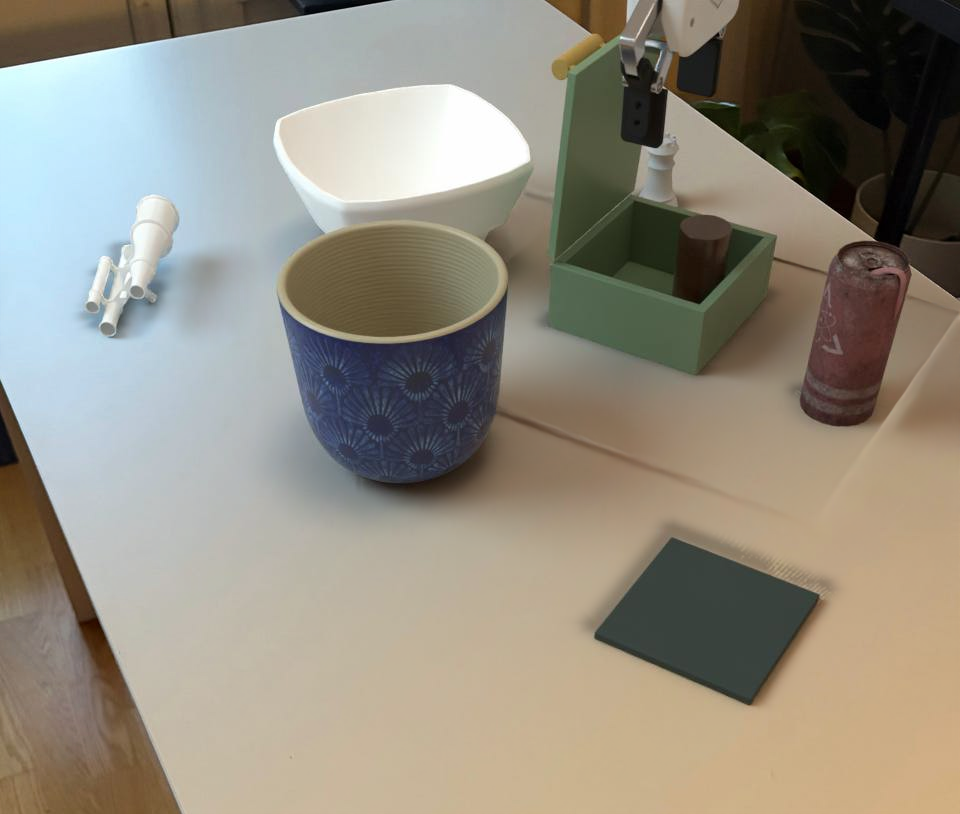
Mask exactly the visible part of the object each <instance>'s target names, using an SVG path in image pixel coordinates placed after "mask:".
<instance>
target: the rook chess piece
mask: <svg viewBox="0 0 960 814" xmlns="http://www.w3.org/2000/svg"><path fill="white" fill-rule="evenodd" d="M670 135H671V136H670ZM679 150H680V146H679V144H678V143H677V136H676V135H675V134H671V132H667V131H664V138H663V143H662V145H661V146H660V147H658V148H651V147H647V146H645V151H646V152H647V153H648V155H649V157H648V159H647V161H646V165H647V173H646V178H645V183H644V185H643V188H642V190H641V191H640V193H639V195H638V196H639V197H642V198H646V199H650V200H653V201H657V202H660V203H664V204H667V205H671V206H674V207H678V208H679V203H678V199H677V197H676V192H675V191H674V189H673V171H674V169H673V168H674V167H675V165H676V161H675V160H674V157H675V155H676V154H677V153H678V151H679Z"/></svg>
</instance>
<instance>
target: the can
mask: <svg viewBox="0 0 960 814" xmlns="http://www.w3.org/2000/svg"><path fill="white" fill-rule="evenodd" d="M910 265H911V261H910V257H909V256H908V255H907V253H906V252H905V251H904V250H902V249H901V248H899V247H898V246H896V245H892V244H889V243H887V242H883V241H878V240H858V241H852V242H850V243H847V244H844V245H843V246H841V248H839V249H838V251H837V253H836V255H834V257H833V258H832V259H831V261H830V264H829V267H828V271H827V275H826V281H825V285H824V289H823V293H822V298H821V302H820V307H819V311H818V316H817V321H816V325H815V331H814V334H813V338H812V343H811V346H810V347H811V348H810V353H809V356H808V360H807V365H806V370H805V374H804V379H803V384H802V388H801V391H800V392H801V393H800V397H799V403H800V404H799V405H800V406H799V407H800V408H801V409H802V411H803V412H804V414H806V415H807V416H808V417H809V418H811V419H812V420H815V421H816V422H818V423H819V424H820V423H821V424H823V425H828V426H831V427H845V428H846V427H853V426H858V425H860V424H863V423H866V422H867V421H868V420H869V419H870V418H871V417H872V416H873V413H874V411H875V407H876V404H877V400H878V396H879V393H880V390H881V386H882V383H883V378H884V375H885V371H886V369H887V365H888V361H889V357H890V353H891V350H892V348H893V347H892V346H893V343H894V339H895V336H896V333H897V328H898V325H899V321H900V319H901V314H902V311H903V308H904V304H905V300H906V297H907V294H908V290H909V287H910V282H911V279H912V275H913V274H912V270H911V266H910Z"/></svg>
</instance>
